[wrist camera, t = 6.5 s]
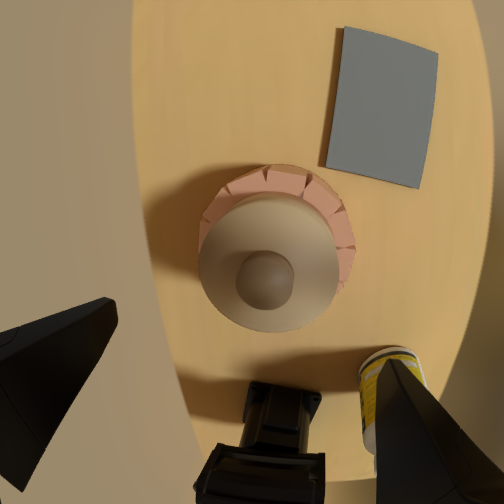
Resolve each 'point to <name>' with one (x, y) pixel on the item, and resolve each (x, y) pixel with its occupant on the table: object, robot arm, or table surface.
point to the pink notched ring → (292, 183)
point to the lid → (270, 263)
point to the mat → (382, 108)
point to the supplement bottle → (368, 388)
